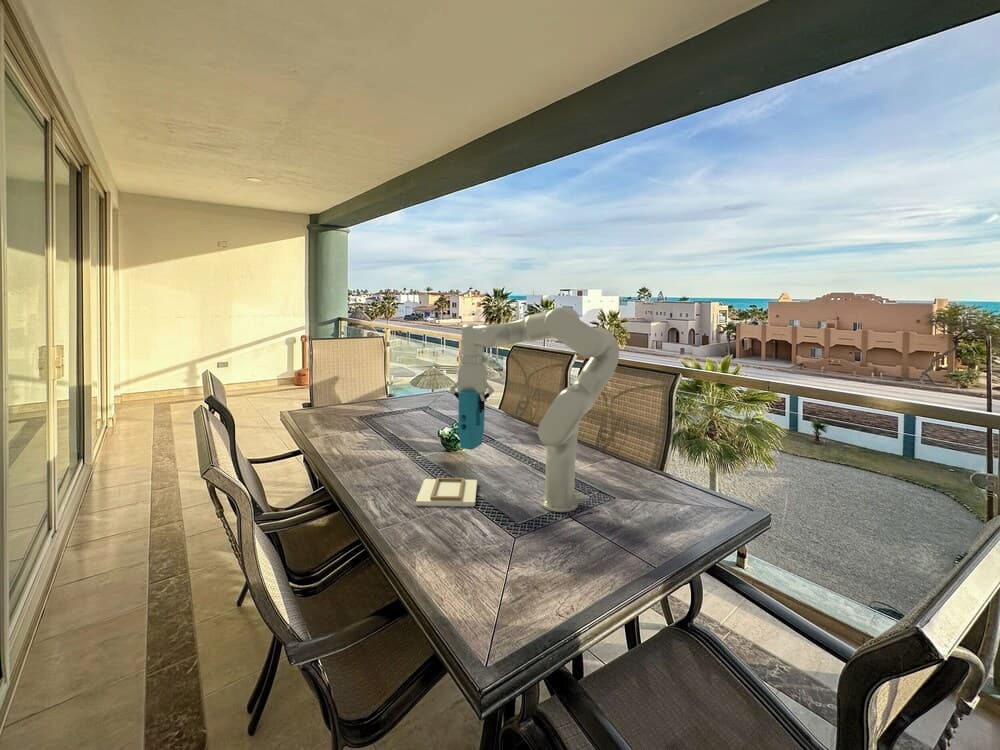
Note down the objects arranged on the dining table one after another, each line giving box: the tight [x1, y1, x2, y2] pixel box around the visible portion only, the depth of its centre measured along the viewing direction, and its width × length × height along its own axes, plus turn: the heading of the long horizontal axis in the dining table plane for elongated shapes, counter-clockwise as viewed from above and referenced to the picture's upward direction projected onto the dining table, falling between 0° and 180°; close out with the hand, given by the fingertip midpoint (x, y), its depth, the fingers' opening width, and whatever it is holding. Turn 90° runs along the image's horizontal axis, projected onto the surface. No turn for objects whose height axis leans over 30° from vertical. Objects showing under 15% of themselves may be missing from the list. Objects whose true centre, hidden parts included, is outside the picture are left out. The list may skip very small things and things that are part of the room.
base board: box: [415, 477, 478, 507], centre depth 157 cm, size 19×19×2 cm
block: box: [457, 391, 486, 451], centre depth 161 cm, size 12×5×20 cm, turn 157°
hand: (471, 410), depth 161 cm, fingers closed on block, 5 cm apart
